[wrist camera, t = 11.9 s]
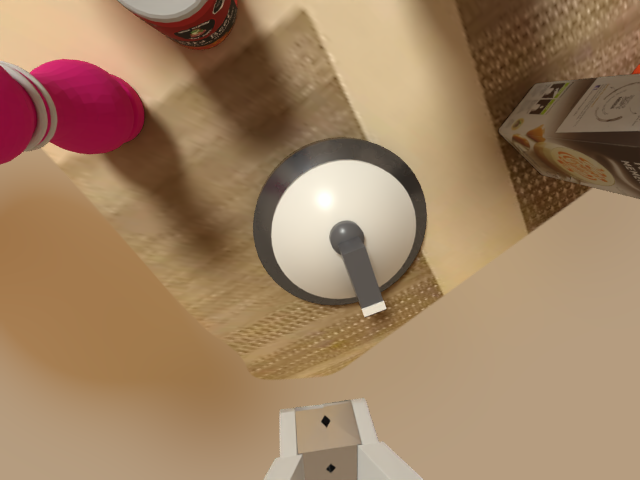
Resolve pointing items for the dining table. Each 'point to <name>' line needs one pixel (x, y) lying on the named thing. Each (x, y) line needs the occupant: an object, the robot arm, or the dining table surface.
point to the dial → (344, 231)
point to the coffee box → (582, 131)
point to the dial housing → (310, 158)
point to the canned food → (187, 19)
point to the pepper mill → (65, 109)
